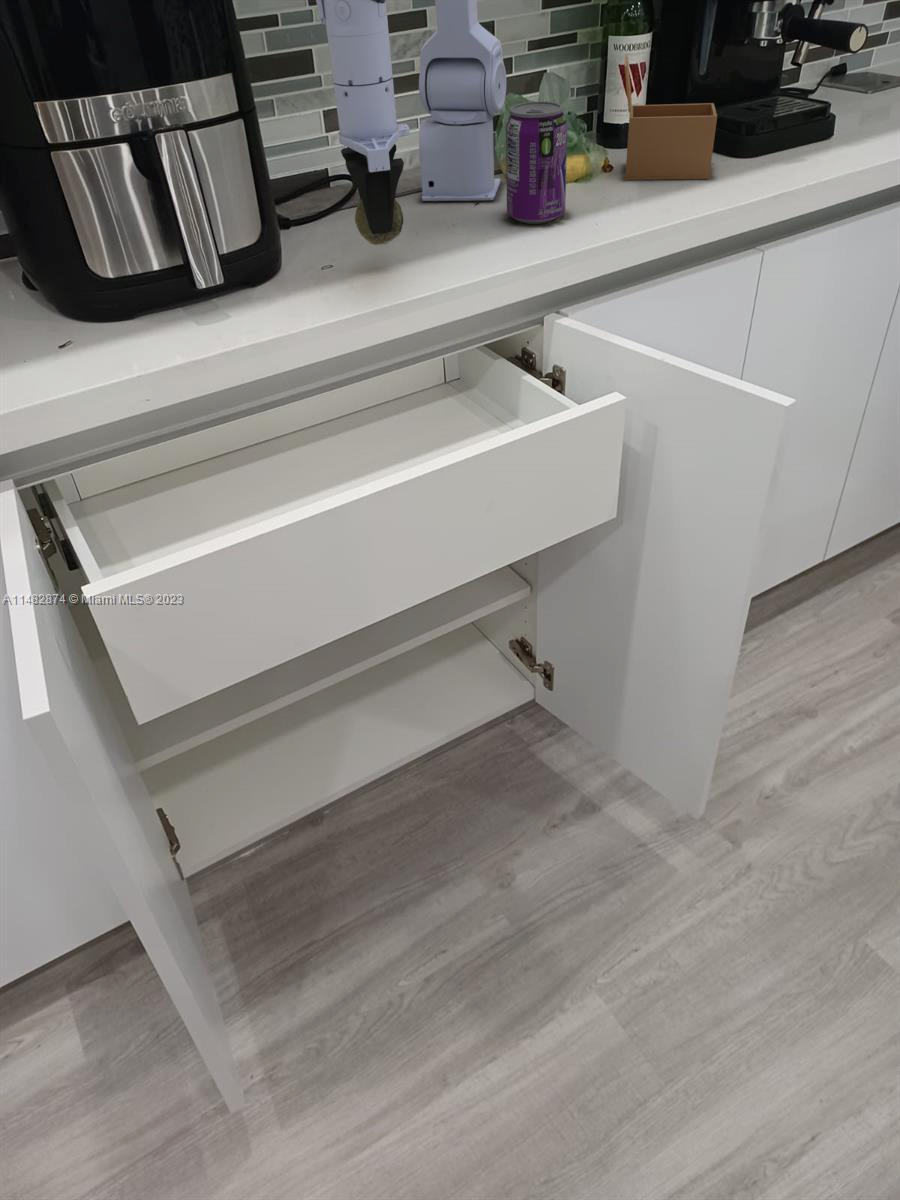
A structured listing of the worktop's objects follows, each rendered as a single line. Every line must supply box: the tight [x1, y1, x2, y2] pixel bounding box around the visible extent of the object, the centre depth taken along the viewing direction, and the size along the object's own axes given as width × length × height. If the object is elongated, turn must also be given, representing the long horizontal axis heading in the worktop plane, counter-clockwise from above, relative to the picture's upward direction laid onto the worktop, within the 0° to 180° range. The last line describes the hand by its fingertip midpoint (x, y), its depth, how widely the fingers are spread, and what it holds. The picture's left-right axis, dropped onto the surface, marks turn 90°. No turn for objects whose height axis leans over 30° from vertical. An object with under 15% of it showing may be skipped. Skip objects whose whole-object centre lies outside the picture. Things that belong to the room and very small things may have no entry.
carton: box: [624, 102, 718, 181], centre depth 115 cm, size 11×7×7 cm, turn 81°
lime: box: [354, 199, 404, 246], centre depth 91 cm, size 4×5×5 cm
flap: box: [624, 54, 633, 114], centre depth 111 cm, size 5×7×1 cm
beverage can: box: [505, 100, 568, 225], centre depth 103 cm, size 7×7×12 cm
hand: (379, 226), depth 92 cm, fingers closed on lime, 3 cm apart
